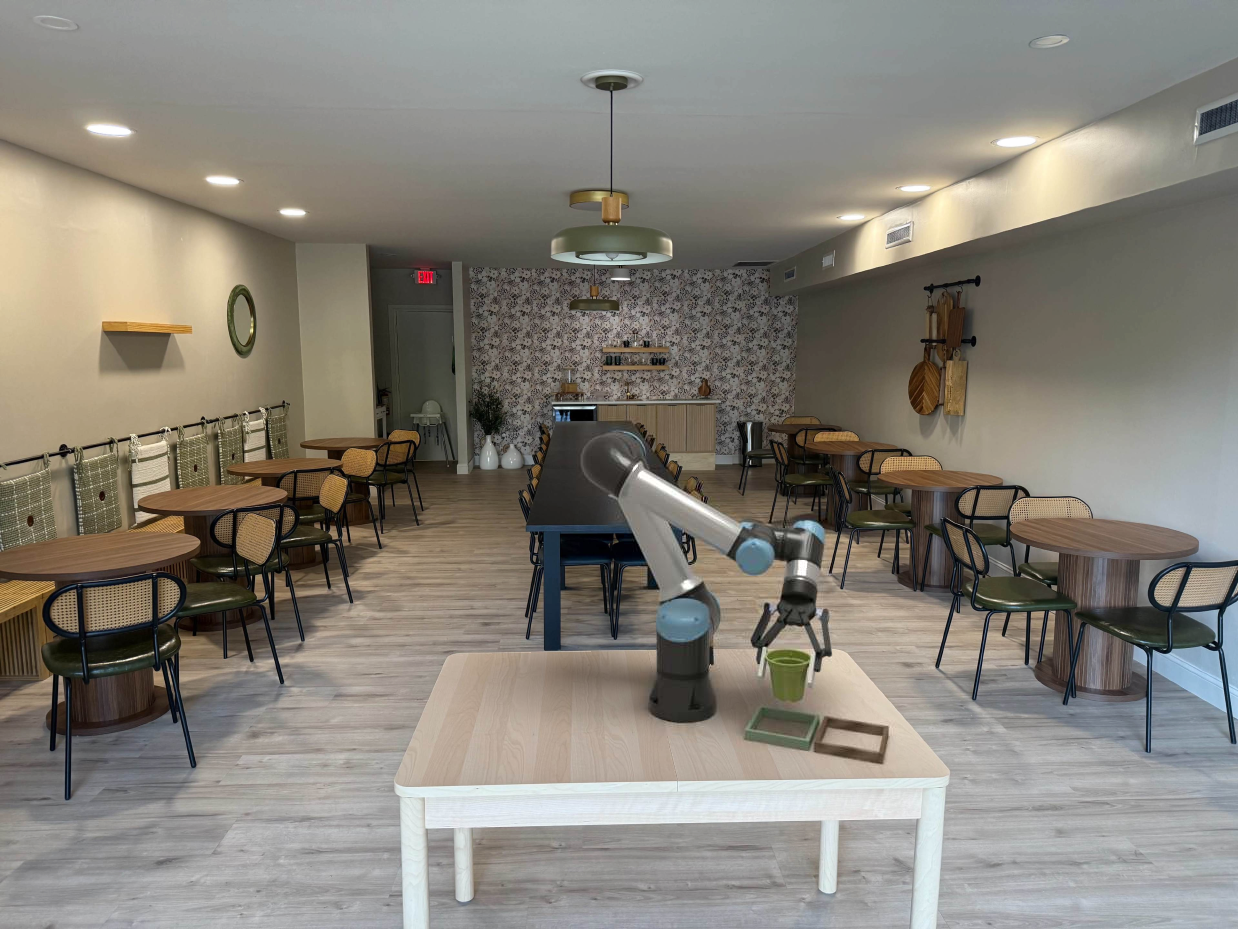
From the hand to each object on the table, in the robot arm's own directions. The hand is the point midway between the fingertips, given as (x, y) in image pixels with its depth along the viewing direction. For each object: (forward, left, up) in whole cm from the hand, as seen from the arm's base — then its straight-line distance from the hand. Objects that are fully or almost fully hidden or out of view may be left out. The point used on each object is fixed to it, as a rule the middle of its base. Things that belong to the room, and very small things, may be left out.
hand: (785, 682), depth 164 cm
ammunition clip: (-30, +32, -12) cm, 45 cm away
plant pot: (0, +3, -5) cm, 6 cm away
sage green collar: (-1, +3, -12) cm, 12 cm away
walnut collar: (+13, +3, -12) cm, 18 cm away
